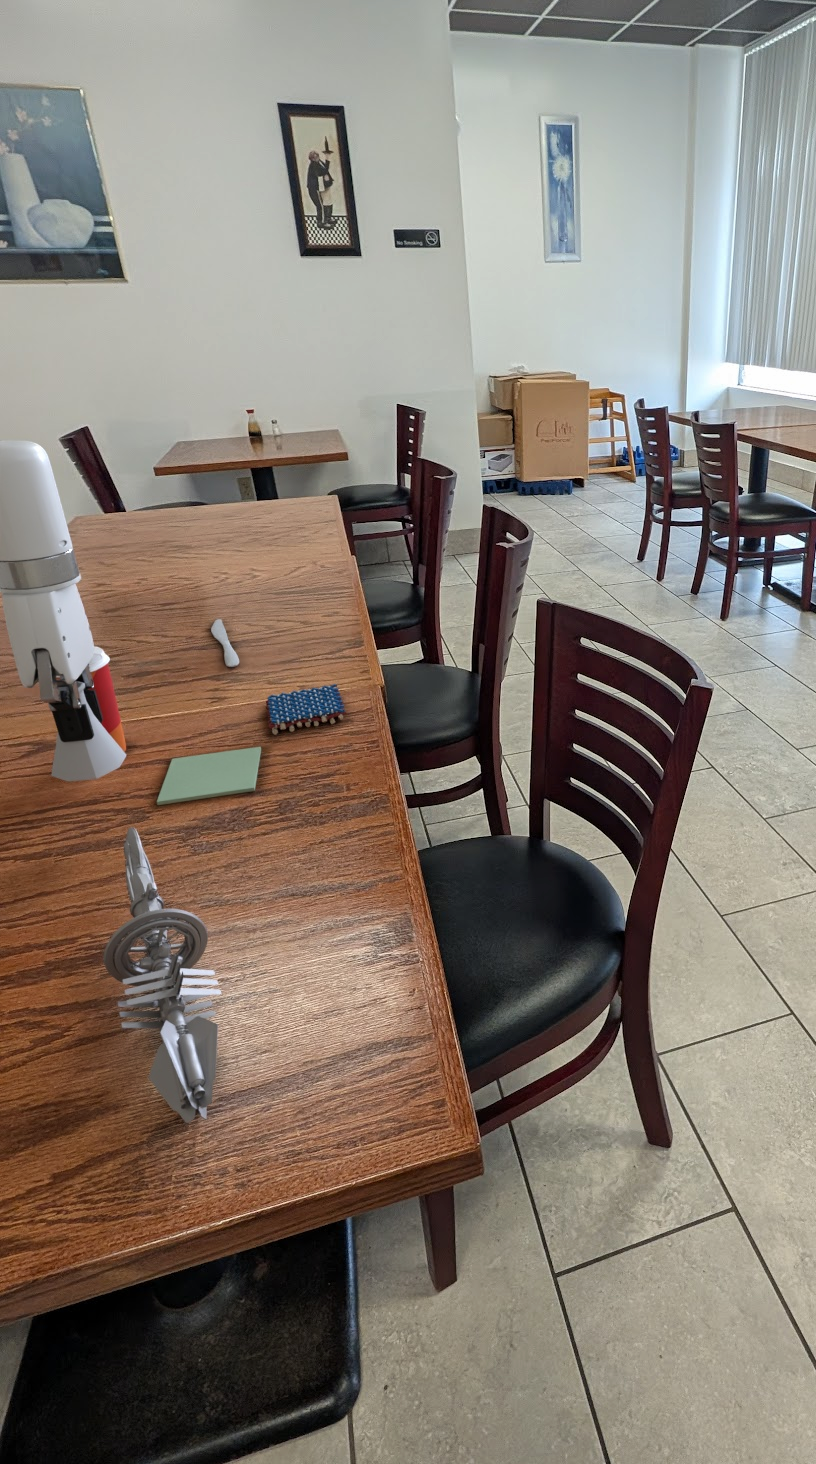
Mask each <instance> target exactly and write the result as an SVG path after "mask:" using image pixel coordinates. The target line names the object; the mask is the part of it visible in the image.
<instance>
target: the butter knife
mask: <svg viewBox="0 0 816 1464" xmlns="http://www.w3.org/2000/svg"><path fill="white" fill-rule="evenodd" d="M210 628H211V629H210V631H211V634H212V636H213V637H214V638H215V639H216V640H217V641H218V642H219V643H220V644H221V645H222V648H223V658H224V663H225V666H226V667H229V668H234V667H237V666H239V664H240V658H239V656H238V654H237V652H236V651H235V650H234V648H233V647H232V644H231V643H230V640H229V636H228V634H227V631H226V628H225V626H224V623H223V619H222V618H218V619H215V621H214V622H213V624H212V625H211V627H210Z"/></svg>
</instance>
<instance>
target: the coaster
mask: <svg viewBox="0 0 816 1464" xmlns="http://www.w3.org/2000/svg"><path fill="white" fill-rule="evenodd" d="M261 754H262V746H254V747H247V748H239V749H232V750H225V751H218V752H210V753H204V754H197V755H189V756H182V757H175V758H171V760H170V763H169V766H168V769H167V772H166V774H165V776H164V780H163V783H162V785H161V788H160V791H159V793H158V797H157V800H156V806H163V805H169V804H177V803H182V802H183V803H184V802H189V801H195V800H196V801H197V800H203V799H209V798H216V797H224V796H229V795H236V794H242V793H250V792H255V791H256V785H257V779H258V774H259V766H260V761H261Z"/></svg>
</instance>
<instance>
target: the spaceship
mask: <svg viewBox="0 0 816 1464" xmlns="http://www.w3.org/2000/svg"><path fill="white" fill-rule="evenodd" d="M123 856H124V859H125V860H124V867H125V882H126V890H127V895H129V896H128V900H129V901H130V907H129V913H130V915H131V916H132V917H133V918H130V919H129V920H128V921H126V922H125V923H123V924H122V925H121V926H120V927H119V928H118V929H117V930H116V931H115V932H114V933H113V934H112V936H111V937H110V938H109V940H108V942H107V943H106V946H105V949H104V953H103V964H104V967H105V969H106V971H107V973H108V974H109V975H110V976H111V977H112V978H114V979H115V980H116V981H118V982H119V983H122V985H128V986H132V987H131V988H130V987H129V988H125V989H124V995H125V996H129V995H133V994H139V993H143V992H149V991H153V990H154V991H155V992H153V993H149V994H145V995H142V996H138V997H134V998H129V999H126V1000H119V1001H117V1006H118V1007H120V1008H121V1007H122V1008H152V1009H153V1008H154V1009H158V1010H133V1011H132V1010H131V1011H130V1010H129V1011H128V1010H127V1011H119V1017H120V1018H136V1019H137V1018H138V1019H139V1018H142V1019H143V1018H145V1019H157V1020H153V1021H152V1020H150V1021H149V1020H148V1021H122V1022H121V1028H123V1029H159V1034H160V1037H161V1040H162V1041H161V1042H162V1043H161V1044H160V1045H159V1046H158V1047H157V1051H156V1054H155V1057H154V1060H153V1063H152V1065H151V1068H150V1070H149V1071H150V1072H149V1073H148V1076H147V1077H148V1079H149V1081H150V1082H151V1083H152V1084H153V1086H154V1087H155V1089H156V1090H157V1091H158V1093H159V1094H160V1096H161V1097H162V1098H163V1099H164V1100H165V1102H166V1103H167V1104H168V1106H169V1107H170V1108H171V1110H172V1111H173V1112H177V1114H179V1116H180V1117H181V1118H182V1120H183V1121H184V1122H185V1123H186V1124H189V1123H191V1122H192V1121H193V1120H195V1117H197V1116H198V1115H200V1116H201V1117H202V1118H203V1120H204V1119H205V1120H207V1119H208V1111H207V1108H208V1106H209V1105H211V1104H212V1102H213V1092H214V1091H213V1090H214V1080H215V1079H216V1076H217V1057H218V1039H219V1024H218V1023H216V1022H215V1021H214V1022H213V1021H211V1020H208V1018H212V1017H215V1016H217V1013H216V1010H210V1011H204V1012H200V1013H196V1014H192V1015H187V1016H185V1014H187V1013H191V1012H194V1011H197V1010H201V1009H206V1008H209V1007H212V1006H214V1004H213V1001H212V1000H207V1001H203V1002H198V1003H193V1004H189V1005H186V1003H188V1002H192V1001H195V1000H199V999H203V998H206V997H210V996H213V995H214V996H215V995H216V996H217V995H219V996H220V995H222V991H221V989H217V988H199V987H197V988H196V987H182V986H217V985H219V982H218V979H212V978H211V979H209V978H192V977H191V978H190V977H185V976H216V972H215V970H213V969H199V968H198V969H197V968H193V967H194V966H195V965H196V964H197V963H198V962H199V961H200V959H201V958H202V956H203V954H205V953H204V952H205V951H206V948H207V946H208V942H209V932H208V928H207V926H206V924H205V923H204V921H203V920H202V919H201V918H200V917H199V916H197V915H196V914H194V913H192V912H190V911H187V910H183V909H179V908H164V907H165V901H164V899H163V898H162V897H161V896H160V894H159V892H158V887H157V884H156V882H155V877H154V873H153V870H152V866H151V863H150V860H149V858H148V856H147V854H146V852H145V850H144V848H143V843H142V841H141V838H140V835H139V833H138V831H137V829H136V828H135V827H133V826H129V828H127V831H126V836H125V840H124V843H123ZM169 930H174V931H176V932H175V933H174V934H172V935H171V936H169V937H168V936H167V935H168V932H169ZM182 936H184V938H183V939H184V941H183V943H174V944H173V942H175V941H177V940H178V939H179V938H181V937H182ZM167 937H168V938H167ZM175 937H176V938H175ZM173 938H175V939H173ZM139 939H141V940H142V941H143V943H144V945H145V946H135V947H134V945H135V943H136V941H137V940H139ZM172 939H173V940H172ZM172 950H177V951H176V952H175V951H173V953H172ZM130 953H144V955H143V956H142V957H140V958H139V959H137V960H134V959H133V958H131V957H130V955H129V954H130Z"/></svg>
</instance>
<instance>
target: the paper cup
mask: <svg viewBox="0 0 816 1464" xmlns="http://www.w3.org/2000/svg"><path fill="white" fill-rule="evenodd" d="M110 659H111V658H110V656H109V655H108V654H106V652H105V651H104V649H103V648H101V647H99V646H96V645H94V654H93V657H92V659H91V660H90V662H89V665H88V666H89V667H90V668H89V669H90V672H91V675H92V679H93V682H94V688H92V689H95V691H96V695H97V698H98V702H99V706H100V709H101V713H102V716H103V721H102V722H101V724H102V726H103V727H104V728H105V730H106V731H107V732H108V733H109V735H110V736H111V737H112V738H113V739H114V740H115V742H116V743H117V744H118V745H119V746H120V747H121V749H122V750H123V751H124V752H125V753H126V750H127V744H126V739H125V733H124V729H123V724H122V721H121V720H122V719H121V715H120V711H119V705H118V702H117V698H116V697H117V696H116V692H115V689H114V683H113V680H112V676H111V670H110V666H109V662H110V661H111V660H110ZM58 679H60V676H56V680H58ZM92 689H89V690H92Z"/></svg>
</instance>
